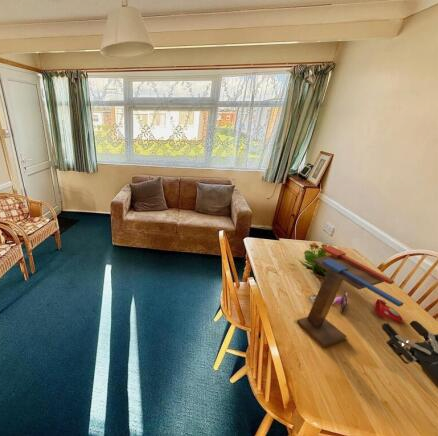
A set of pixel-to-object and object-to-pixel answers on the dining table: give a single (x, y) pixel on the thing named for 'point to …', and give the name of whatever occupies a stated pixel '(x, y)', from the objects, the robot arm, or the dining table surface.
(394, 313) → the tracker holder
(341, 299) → the pink toy figure
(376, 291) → the blue paddle stick
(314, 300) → the grey flat lumpy piece
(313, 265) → the potted flower
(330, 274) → the shelf stand
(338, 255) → the red spatula
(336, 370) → the dining table surface
